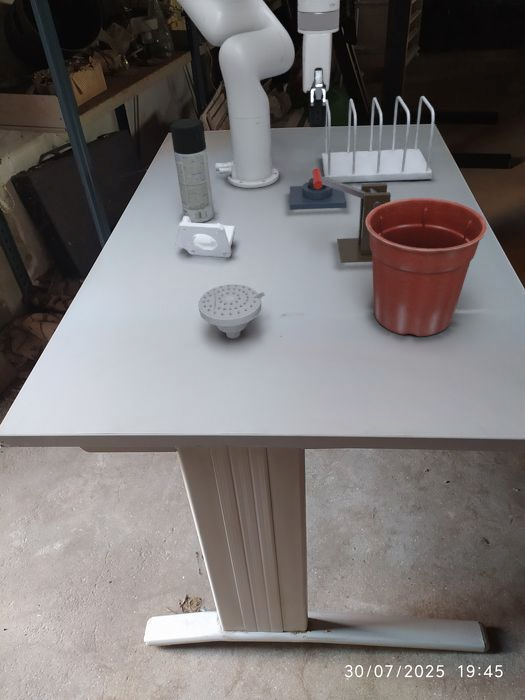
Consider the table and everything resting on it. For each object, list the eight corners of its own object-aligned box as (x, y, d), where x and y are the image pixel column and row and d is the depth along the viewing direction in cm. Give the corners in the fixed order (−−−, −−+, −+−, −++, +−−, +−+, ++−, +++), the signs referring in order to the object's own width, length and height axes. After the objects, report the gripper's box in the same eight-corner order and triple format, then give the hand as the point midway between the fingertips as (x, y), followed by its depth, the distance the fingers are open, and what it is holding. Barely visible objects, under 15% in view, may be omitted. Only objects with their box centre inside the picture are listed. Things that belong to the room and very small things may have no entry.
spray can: (219, 213, 120) (209, 118, 107) (204, 226, 115) (192, 129, 103) (194, 209, 122) (181, 116, 110) (178, 221, 117) (162, 126, 105)
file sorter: (418, 155, 141) (426, 91, 131) (431, 181, 127) (441, 111, 118) (321, 159, 143) (322, 96, 133) (324, 184, 129) (326, 116, 119)
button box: (290, 214, 117) (289, 196, 115) (289, 195, 125) (289, 178, 123) (345, 211, 117) (346, 194, 114) (341, 193, 125) (342, 176, 122)
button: (309, 191, 117) (309, 183, 116) (308, 185, 120) (308, 177, 119) (325, 190, 117) (325, 183, 116) (324, 184, 120) (324, 176, 119)
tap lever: (311, 190, 91) (316, 177, 90) (310, 177, 96) (315, 164, 94) (381, 214, 94) (388, 202, 92) (377, 200, 98) (383, 188, 97)
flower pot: (352, 339, 82) (358, 244, 72) (365, 283, 94) (372, 194, 84) (466, 353, 78) (490, 254, 68) (465, 292, 90) (484, 200, 80)
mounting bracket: (176, 259, 108) (159, 224, 99) (184, 234, 111) (168, 198, 101) (233, 264, 105) (222, 228, 96) (240, 238, 108) (229, 201, 99)
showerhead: (267, 309, 76) (197, 316, 76) (269, 349, 81) (203, 356, 81) (261, 275, 84) (197, 281, 83) (264, 314, 88) (203, 319, 88)
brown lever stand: (340, 267, 99) (343, 201, 91) (336, 244, 106) (339, 180, 98) (407, 265, 98) (415, 198, 90) (398, 242, 105) (406, 177, 97)
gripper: (297, 15, 106) (297, 107, 116) (298, 30, 92) (298, 133, 103) (336, 13, 105) (332, 106, 116) (342, 28, 92) (337, 132, 103)
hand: (316, 119), depth 109 cm, fingers open, 9 cm apart
